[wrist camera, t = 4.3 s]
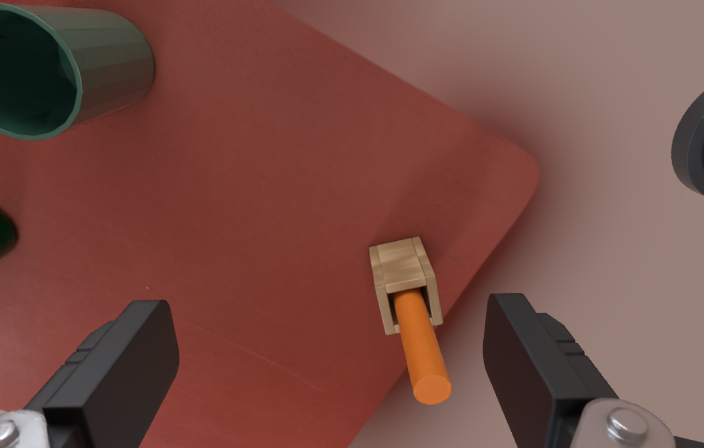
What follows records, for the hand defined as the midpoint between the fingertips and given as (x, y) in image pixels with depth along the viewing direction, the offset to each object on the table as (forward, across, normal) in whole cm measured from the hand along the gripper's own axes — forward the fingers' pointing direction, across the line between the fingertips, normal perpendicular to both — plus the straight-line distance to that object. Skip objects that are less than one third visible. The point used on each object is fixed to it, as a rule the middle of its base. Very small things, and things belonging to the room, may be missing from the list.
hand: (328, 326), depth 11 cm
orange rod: (+28, -5, +13) cm, 31 cm away
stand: (+28, -5, +13) cm, 31 cm away
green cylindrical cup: (+27, +18, -6) cm, 33 cm away
